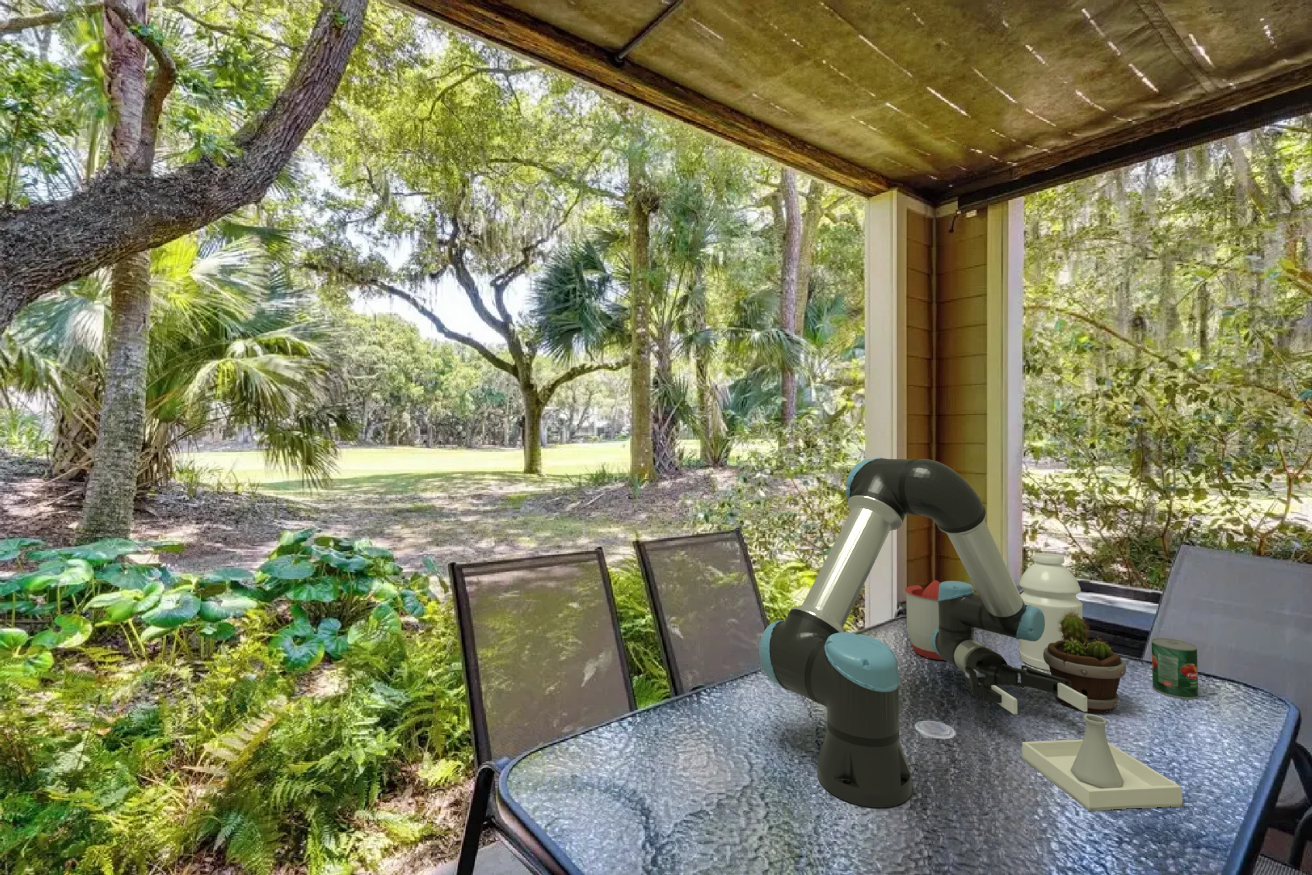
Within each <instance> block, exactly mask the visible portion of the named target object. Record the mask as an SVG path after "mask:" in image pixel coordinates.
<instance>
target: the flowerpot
mask: <svg viewBox="0 0 1312 875" xmlns="http://www.w3.org/2000/svg"><path fill="white" fill-rule="evenodd" d="M1070 608H1071V607H1070ZM1074 611H1075V610H1074ZM1074 611H1073V613H1074ZM1066 612H1067V611H1066ZM1071 612H1072V610H1071ZM1071 612H1068V613H1071ZM1068 613H1066V614H1068ZM1073 613H1072V614H1068V615H1065V616H1066V617H1065V618H1064V617H1063V616H1062V615H1061V616H1062V617H1063V620H1061V619H1062V617H1060V618H1061V619H1060V620H1061V621H1059V620H1058V621H1059V623H1060V625H1061V628H1059V630H1060V631H1061V632H1062V634H1063V636H1062V635H1061V636H1062V638H1064V639H1061V640H1060V641H1057V642H1056V643H1050V644H1048V647H1046V648H1045V649H1044V652H1043V658H1044V661H1045V662H1046V664H1048V665H1049V668H1050V672H1049V673H1050V674H1051V675H1054V676H1057V677H1061V678H1064V679H1067V680H1070V681H1071V688H1072V689H1073V690H1075V691H1077V692H1079V693H1081V694H1083V695H1085V696H1086V697H1087V711H1085V713H1090V714H1091V713H1092V714H1097V713H1099V714H1106V713H1108V712H1109V711H1113V709H1114V708H1116V707H1118V704H1119V699H1120V696H1119V694H1118V689H1119V685H1120V681H1121V678H1123V677H1125V675H1126V673H1127V665H1126V662H1125V661H1124V660H1123V659H1122V658H1121V656H1120V654H1117V653H1115V652H1114V651H1113V650H1112V648H1113V646H1111V647H1110V645H1109V644H1108V641H1106V640H1105V641H1104V640H1103V639H1102V637H1100V638H1099V636H1098V635H1096V638H1097V639H1096V638H1094V640H1089V639H1090V638H1091V637H1090V636H1091V634H1090V631H1089V629H1090V626H1089V624H1088V623H1087V622H1086V619H1085V618H1084V617H1083V616H1082V619H1081V618H1079V617H1077V616H1078V614H1075V613H1074V614H1073ZM1085 622H1086V623H1085ZM1059 623H1058V624H1059ZM1059 630H1058V632H1059ZM1063 640H1065V641H1063ZM1053 695H1054V696H1055V698H1056V700H1058V702H1059V703H1061V704H1063V705H1065V706H1066V707H1072V708H1073V709H1074V710H1078V711H1081V712H1083V711H1082V710H1080V709H1078V708H1077V707H1075V706H1073V705H1071V704H1070V703H1068V702H1066V701H1064V700H1063V699H1061V698H1059V697H1058V694H1054V693H1053Z"/></svg>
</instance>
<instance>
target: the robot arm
mask: <svg viewBox="0 0 1312 875" xmlns="http://www.w3.org/2000/svg"><path fill="white" fill-rule="evenodd" d="M845 483H846V484H845V485H846V486H847V488H845V495H846V499H847V507H848V509H849V511H850V513H849V515H848V516H847V519H846V520H845V522H844V523H843V526H842V527H841V530H840V532H839V533H838V536H837V538H836V540H835V542H834V543H833V545H832V547H831V549H830V551H829V553H827V554H828V555H827V556H826V558H825V561H823V565H822V566H821V568H820V570H819V572H818V573H817V576H816V577H815V580H814V581H813V584H812V585H811V587H810V589H809V591H808V593H807V595H806V596H805V599H804V601H803V603H802V605H799V606H794V607H791V608H790V610H789V612H788V614H787V615H786V617H785V619H784V620H783V619H782V620H775V621H774V622H771V623H770V624H769V625H767V627H766V628H765V630H764V631H763V633H762V634H761V639H760V641H759V646H758V647H759V650H758V653H759V654H758V656H759V658H760V660H759V661H760V666H761V669H762V671H763V672H764V674H765V676H766V677H767V679H769V680H770V681H771V682H773V683H775V684H777V686H780V687H781V688H782V689H784V690H787V691H791V692H793V693H795V694H797V695H800V696H802V697H804V698H806V699H809V700H811V701H813V702H814V703H817V704H820V705H821V706H824V707H825V708H826V723H827V724H826V732H825V736H824V740H823V742H822V745H821V748H820V752H819V754H818V757H817V762H816V764H817V765H816V767H817V769H816V770H817V772H816V773H817V774H816V775H817V779H818V781H819V783H820V784H821V785H822V787H823V788H824V789H825V790H826V791H828V792H829V793H830V794H831V795H833V796H835V797H837V798H838V799H840V800H842V801H845V802H848V803H851V804H853V805H859V806H863V807H868V808H890V807H895V806H898V805H899V806H900V805H901V804H903V803H905V802H906V801H908V800H909V799H910V797H911V795H912V792H913V783H912V782H913V778H912V772H911V769H910V767H909V764H908V761H907V758H906V755H905V752H904V750H903V746H902V744H901V739H900V684H901V683H900V682H901V678H900V673H899V667H898V665H899V663H898V659H897V657H896V653H894V651H893V650H892V648H891V647H890V646H888V645H887V644H886V643H884V642H883V641H881V640H878V639H876V638H874V637H872V636H869V635H865V634H861V633H860V634H856V633H854V632H847V631H846V632H845V631H844V629H843V628H844V627H845V625H846V622H847V620H848V619H849V616H850V614H851V612H852V610H853V608H854V606H855V604H856V601H857V599H859V596H860V593H861V592H862V589H863V588H864V585H865V582H866V581H867V579H868V577H869V574H870V573H871V571H872V569H873V567H874V564H875V563H876V560H877V558H878V556H879V554H880V553H881V551H882V547H883V545H884V544H885V542H886V539H887V537H888V535H889V533H890V531H896V530H898V529H900V528H901V526H902V524H903V523H904V520H905V518H906V516H908V515H909V516H911V515H912V516H923V517H927V518H929V519H931V520H933V522H934V523H935V525H936V526H937V528H938V530H939V531H941V532H943V533H945V534H946V535H947V536H948V539H949V540H950V542H951V545H952V546H953V548H954V550H955V551H956V554H957V556H958V558H959V559H960V561H961V564H962V565H963V567H964V568H965V571H966V572H967V575H968V576H969V579H970V581H971V583H972V584H971V583H968V582H965V581H959V580H946V581H942V582H940V583H941V584H940V585H939V594H938V606H939V628H938V629H936V630H935V631H934V633H933V635H932V637H931V645H932V648H933V649H934V651H935V652H936V653H937V654H938V655H939V656H941V658H942V659H944V660H943V661H945V662H947V663H949V664H951V665H953V666H955V668H957V669H959V670H961V671H962V672H963V673H964V674H965V675H964V678H965V681H967V682H968V683H969V686H970V691H971V694H972V696H973V697H975V698H980V696H982V697H983V702H986V703H990V702H991V701H992V702H993V703H996V704H998V705H999V706H1000V707H1002V708H1004V709H1005V710H1007V711H1008V712H1009V713H1011V714H1013V715H1018V699H1017V698H1016V697H1014V696H1013V695H1011V694H1009V693H1008V692H1006V691H1004V689H1002V688H1000V687H998V686H999V685H1000V686H1013V687H1014V686H1015V687H1018V688H1021V689H1024V688H1025V687H1027V688H1031V689H1035V690H1040V691H1042V692H1046V693H1049V694H1050V693H1051V694H1053V695H1054V694H1058V697H1059V698H1061V699H1063V700H1064V701H1066V702H1068V703H1070V704H1071V705H1073V706H1075V707H1077V708H1078V709H1080V710H1082V711H1081V712H1085V711H1087V697H1086V696H1085V695H1083V694H1081V693H1079V692H1077V691H1075V690H1073V689H1072V688H1071V681H1070V680H1067V679H1064V678H1061V677H1057V676H1054V675H1051V673H1048V672H1044V671H1041V670H1038V669H1036V668H1035V669H1034V668H1031V667H1030V666H1028V665H1024V664H1022V665H1020V668H1018V667H1013V666H1012V665H1010V664H1008V663H1007V661H1006V660H1005V658H1004V657H1003V656H1002V655H1000V654H999V653H998V652H996V651H994V650H992V649H991V648H989V647H987V646H986V645H983V644H981V643H979V642H978V641H976V640H975V636H974V635H975V634H974V633H975V628H976V629H978V630H982V631H987V632H990V633H994V634H998V635H1003V636H1005V637H1010V638H1014V639H1016V640H1019V639H1022V640H1027V641H1037V640H1039V639H1040V638H1041V636H1042V634H1043V632H1044V628H1045V618H1044V614H1043V612H1042V611H1041V609H1039V608H1037V607H1034V606H1031V605H1025V604H1024V601H1023V599H1022V598H1021V596H1020V594H1021V593H1020V591H1019V589H1018V588H1017V585H1016V584H1015V581H1014V579H1013V577H1012V576H1011V573H1010V571H1009V569H1008V567H1007V564H1006V562H1005V561H1004V558H1003V556H1002V554H1001V552H1000V550H999V548H998V546H997V544H996V541H995V539H994V537H993V535H992V533H991V531H990V529H989V527H988V524H987V522H986V519H987V509H986V508H985V505H984V504H983V501H982V500H981V498H980V496H979V495H978V493H977V492H976V490H975V489H974V488H973V487H972V486H971V485H970V483H969V482H968V481H967V480H966V479H965V478H963V476H961V475H960V474H959V473H958V472H956V471H955V470H954V469H952V468H951V467H949V466H948V465H946V464H944V463H942V462H940V461H937V460H932V459H928V458H918V459H917V458H916V459H912V458H910V459H909V458H883V457H877V458H868V459H865V460H862V461H860V462H858V463H857V464H855V465H854V466H853V468H852V469H851V470H850V471H849V473H848V476H847V478H846V482H845ZM973 586H974V587H973ZM974 589H975V590H976V592H977V594H975V591H974ZM1019 677H1020V682H1019ZM980 684H981V685H980ZM1080 710H1079V711H1080ZM1085 713H1086V712H1085Z"/></svg>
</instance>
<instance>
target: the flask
mask: <svg viewBox="0 0 1312 875" xmlns="http://www.w3.org/2000/svg"><path fill="white" fill-rule="evenodd" d="M1083 720H1084V721H1085V730H1084V731H1085V732H1084V734H1083V735H1084V736H1083V739H1084V740H1083V739H1082V740H1083V742H1082V745H1081V747H1080V749H1079V752H1078V754H1077V756H1076V759H1075V761H1074V763H1073V765H1072V768H1071V770H1070V771H1071V772H1072V773H1073V774H1074V775H1075V776H1076V777H1077V778H1078V779H1079V780H1081V781H1084V782H1087V783H1090V784H1092V785H1095V786H1098V787H1104V788H1121V786H1122V784H1123V783H1124V782H1123V779H1122V777H1121V774H1120V772H1119V770H1118V767H1117V765H1116V763H1115V761H1114V758H1113V755H1112V753H1111V750H1110V748H1109V745H1108V743H1109V741H1108V739H1107V734H1106V725H1107V724H1108V720H1107V719H1106V718H1105V717H1103V716H1100V715H1096V714H1093V713H1092V714H1091V713H1089V714H1088V713H1085V714H1084V715H1083Z"/></svg>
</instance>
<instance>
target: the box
mask: <svg viewBox="0 0 1312 875" xmlns="http://www.w3.org/2000/svg"><path fill="white" fill-rule="evenodd" d="M1083 740H1084V738H1083V739H1065V740H1064V739H1062V740H1041V741H1037V740H1036V741H1022V742H1021V749H1022V751H1021V752H1022V753H1021V754H1022V760H1023V761H1025V762H1026V763H1027V764H1028V765H1030V766H1031V767H1032V768H1034V769H1035V770H1037V771H1038V772H1039V773H1040V774H1041V775H1043V776H1044V777H1045V778H1046V779H1048V780H1049V781H1051V783H1053V784H1054V785H1055V786H1057V787H1058V788H1059V789H1060V790H1062V791H1063V792H1064V793H1066V794H1067V795H1068V796H1070V797H1071V799H1073V800H1075V801H1076V802H1077V803H1078V804H1080V805H1081V806H1083V807H1084V808H1085V809H1086V810H1088V811H1089V812H1098V811H1099V812H1100V811H1114V810H1113V809H1122V810H1127V809H1126V808H1142V809H1157V807H1162V808H1181V807H1183V786H1181V785H1180V784H1177V782H1174V781H1173V780H1171V779H1169V778H1168V777H1166V776H1164V775H1163V774H1162V773H1159V772H1158V771H1156V770H1154V769H1153V768H1152V767H1150V766H1147V765H1146V764H1145V763H1143V762H1142V761H1141V760H1138V759H1136V758H1135V757H1133V756H1132V755H1130V754H1129V753H1127V752H1125V751H1123V750H1122V749H1120V748H1118V747H1117V746H1115V745H1113V744H1112V743H1110V742H1108V745H1109V748H1110V750H1111V753H1112V755H1113V758H1114V761H1115V763H1116V765H1117V767H1118V770H1119V772H1120V774H1121V777H1122V779H1123V782H1124V783H1123V784H1122V786H1121V788H1104V787H1098V786H1095V785H1092V784H1090V783H1087V782H1084V781H1081V780H1079V779H1078V778H1077V777H1076V776H1075V775H1074V774H1073V773H1072V772H1071V771H1070V770H1071V768H1072V765H1073V763H1074V761H1075V759H1076V756H1077V754H1078V752H1079V749H1080V747H1081V745H1082V742H1083ZM1170 806H1171V807H1170ZM1111 809H1112V810H1111Z"/></svg>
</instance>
